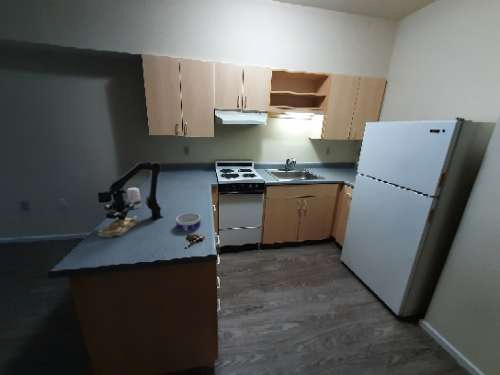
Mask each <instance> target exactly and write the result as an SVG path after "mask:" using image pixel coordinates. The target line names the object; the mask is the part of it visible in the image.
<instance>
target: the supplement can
mask: <svg viewBox="0 0 500 375" xmlns="http://www.w3.org/2000/svg"><path fill="white" fill-rule="evenodd" d="M126 194H127V199H128V203H133V204H134V208H132V209H139V208H141V206H142V202H141V194H140V189H139V188H138V187H129V188H127V190H126ZM132 209H131V210H132Z"/></svg>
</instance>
